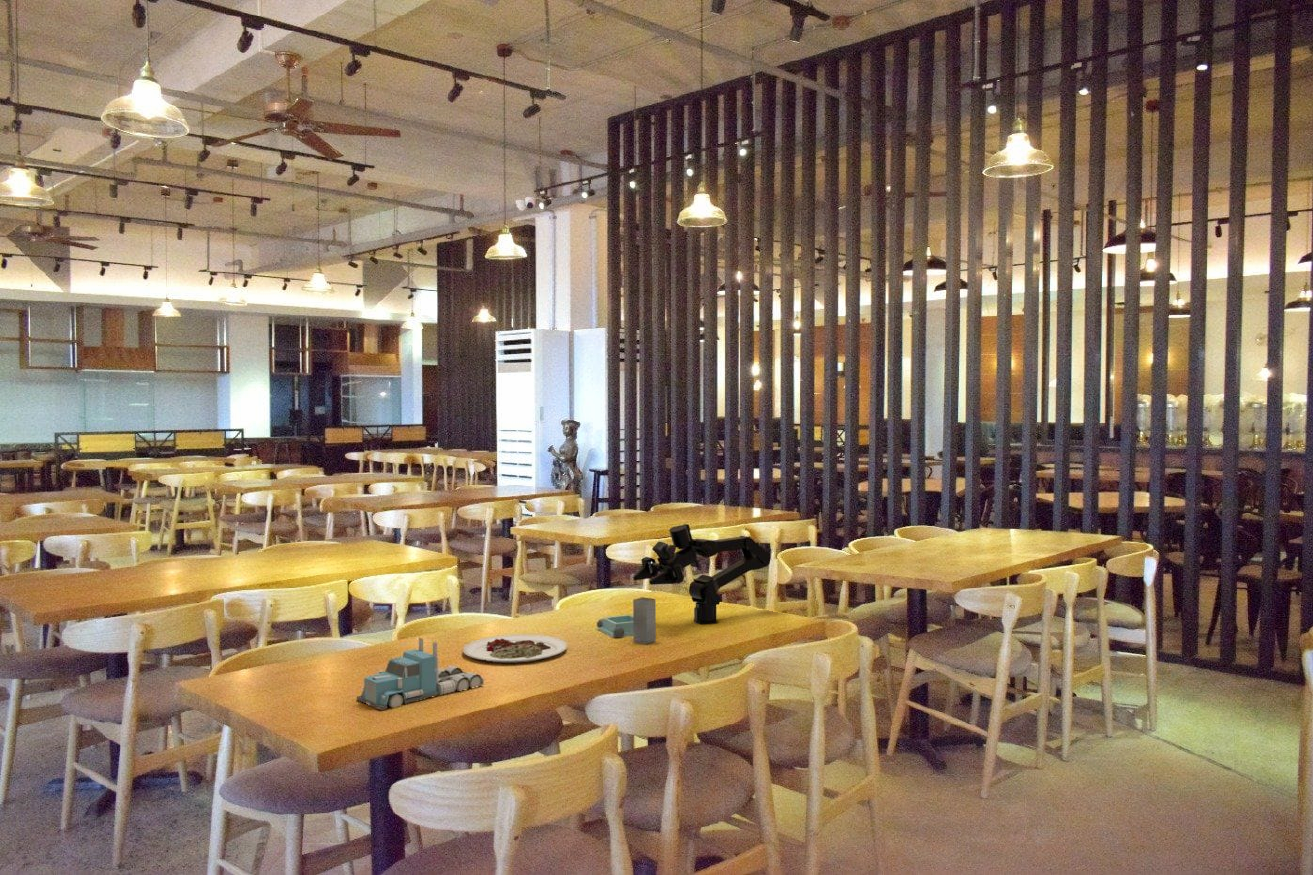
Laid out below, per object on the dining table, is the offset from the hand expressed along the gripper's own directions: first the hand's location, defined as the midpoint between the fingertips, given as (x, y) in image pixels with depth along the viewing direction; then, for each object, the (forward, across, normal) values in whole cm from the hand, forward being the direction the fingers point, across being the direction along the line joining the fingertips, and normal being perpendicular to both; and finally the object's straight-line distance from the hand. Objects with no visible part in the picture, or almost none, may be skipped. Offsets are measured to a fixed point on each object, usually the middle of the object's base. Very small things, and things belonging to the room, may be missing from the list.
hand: (641, 581), depth 302 cm
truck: (+82, +22, -11) cm, 86 cm away
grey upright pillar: (+11, +11, +13) cm, 21 cm away
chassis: (+10, -4, +14) cm, 17 cm away
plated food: (+47, -1, +1) cm, 47 cm away
